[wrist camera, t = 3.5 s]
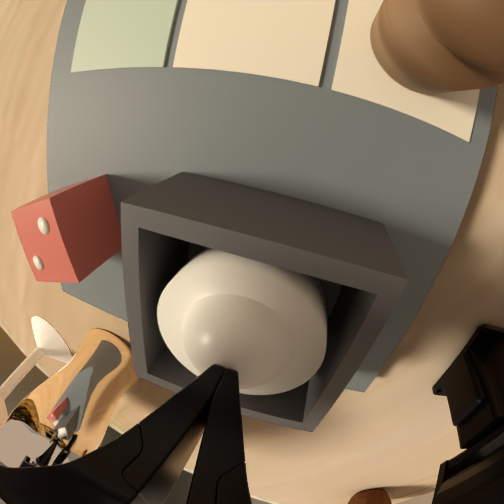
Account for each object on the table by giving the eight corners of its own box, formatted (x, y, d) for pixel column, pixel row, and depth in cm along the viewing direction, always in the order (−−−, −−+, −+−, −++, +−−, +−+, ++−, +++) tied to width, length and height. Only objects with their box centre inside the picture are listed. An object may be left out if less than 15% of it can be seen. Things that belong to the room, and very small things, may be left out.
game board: (488, 24, 7) (556, -3, 1) (363, 374, 17) (364, 453, 12) (91, -22, 9) (20, -39, 4) (74, 280, 20) (23, 325, 15)
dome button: (349, 255, 11) (358, 331, 7) (303, 364, 14) (290, 438, 10) (191, 212, 12) (130, 264, 8) (183, 328, 15) (143, 390, 11)
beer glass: (74, 333, 23) (-18, 442, 10) (106, 314, 20) (-13, 456, 7) (121, 385, 25) (48, 497, 12) (162, 376, 22) (78, 522, 9)
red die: (106, 173, 13) (47, 198, 10) (126, 245, 15) (78, 283, 11) (61, 187, 14) (10, 212, 11) (80, 249, 16) (35, 281, 12)
